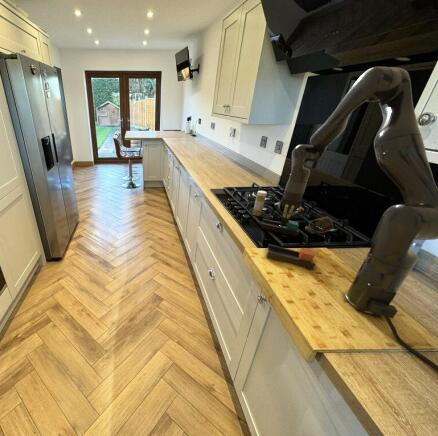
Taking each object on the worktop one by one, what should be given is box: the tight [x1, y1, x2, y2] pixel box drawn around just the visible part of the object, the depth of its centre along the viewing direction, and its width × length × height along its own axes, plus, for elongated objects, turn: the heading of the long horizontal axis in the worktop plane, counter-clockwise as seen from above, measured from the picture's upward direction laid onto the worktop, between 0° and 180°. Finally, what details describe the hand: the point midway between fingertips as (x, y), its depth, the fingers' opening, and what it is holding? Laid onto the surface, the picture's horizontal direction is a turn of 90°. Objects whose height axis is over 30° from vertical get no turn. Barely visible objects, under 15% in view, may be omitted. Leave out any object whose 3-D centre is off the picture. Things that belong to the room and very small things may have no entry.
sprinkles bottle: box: [252, 190, 268, 217], centre depth 129 cm, size 5×5×13 cm
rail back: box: [260, 218, 300, 238], centre depth 115 cm, size 7×16×3 cm, turn 62°
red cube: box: [299, 247, 315, 262], centre depth 90 cm, size 4×4×4 cm
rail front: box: [265, 243, 316, 271], centre depth 93 cm, size 7×16×3 cm, turn 62°
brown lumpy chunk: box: [304, 216, 335, 235], centre depth 115 cm, size 7×13×10 cm
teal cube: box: [287, 219, 300, 231], centre depth 112 cm, size 4×4×4 cm
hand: (283, 224), depth 114 cm, fingers closed
